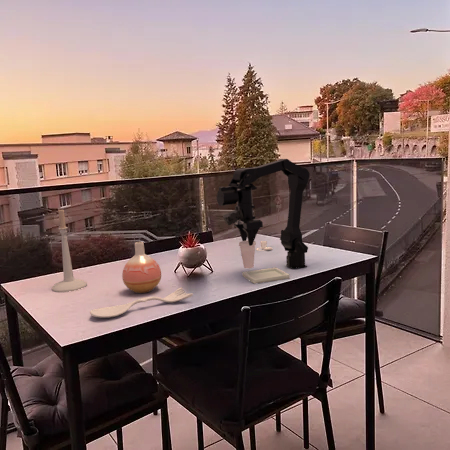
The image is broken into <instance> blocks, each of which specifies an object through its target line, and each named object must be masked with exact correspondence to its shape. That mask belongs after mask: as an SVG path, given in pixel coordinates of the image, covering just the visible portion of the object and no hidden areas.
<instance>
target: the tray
mask: <svg viewBox="0 0 450 450" xmlns="http://www.w3.org/2000/svg"><path fill="white" fill-rule="evenodd" d="M241 274H242V277H243V278H245V279H246V280H247V281H249V280H250V281H249V282H250V283H252V284H254V285H257V284H256V283H258V284H262V283H263V282H264V283H270V282H277V281H281V280H288V279H291V275H290V274H289V273H287V272H285V271H284V270H282V269H280V268H277V267H270V268H263V269H256V270H248V271H243V272H241Z"/></svg>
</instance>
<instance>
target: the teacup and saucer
mask: <svg viewBox="0 0 450 450" xmlns="http://www.w3.org/2000/svg"><path fill="white" fill-rule="evenodd" d="M259 245H260V247H257V248H255V250H256V251H259V252H266V251H271V250H273V247H271V246H268V241H266V240H261V241H260V243H259ZM267 246H268V247H267Z"/></svg>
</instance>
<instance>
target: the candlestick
mask: <svg viewBox="0 0 450 450" xmlns="http://www.w3.org/2000/svg"><path fill="white" fill-rule="evenodd" d="M57 211H58V220H59V227H58V230H59V234H60V235H61V253H62V254H61V255H62V269H63V271H62V272H63V280H60V281H58V282H57V283H55V284H54V285H53V286H52V287H51V291H52V290H53V291H52V292H54V291H55V292H54V293H70V292H69V291H71V292H75V291H74V290H76V291H79V290H78V289H80V290H82V289H81V288H83V289H85V288H86V287H88V282H87V281H85V280H83V279H79V278H75V277H74V271H73V266H72V259H71V253H70V248H69V243H68V236H67V233H68V226H66V217H65V210H64V209H58V210H57ZM85 286H86V287H85ZM84 287H85V288H84Z"/></svg>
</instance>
